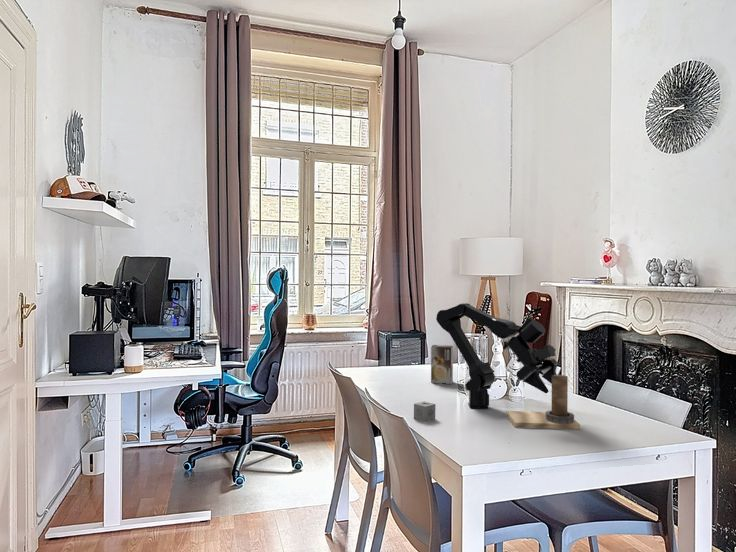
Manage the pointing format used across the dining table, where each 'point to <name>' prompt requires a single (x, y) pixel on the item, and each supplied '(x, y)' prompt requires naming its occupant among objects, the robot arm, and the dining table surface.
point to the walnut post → (559, 395)
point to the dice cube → (424, 411)
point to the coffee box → (441, 364)
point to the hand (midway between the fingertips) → (554, 390)
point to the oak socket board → (542, 420)
